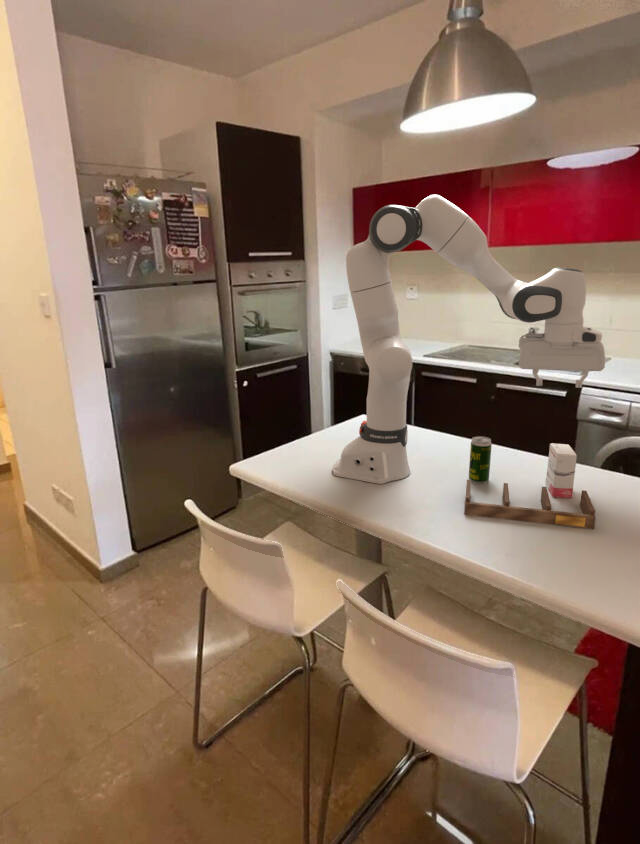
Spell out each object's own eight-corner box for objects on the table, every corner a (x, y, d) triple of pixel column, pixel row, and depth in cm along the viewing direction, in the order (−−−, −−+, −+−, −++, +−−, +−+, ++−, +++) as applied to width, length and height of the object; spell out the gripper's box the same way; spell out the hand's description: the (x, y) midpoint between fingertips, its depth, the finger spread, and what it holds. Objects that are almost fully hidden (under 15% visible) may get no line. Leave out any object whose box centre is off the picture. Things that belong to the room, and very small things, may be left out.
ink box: (572, 498, 129) (578, 455, 125) (551, 497, 130) (557, 454, 126) (564, 484, 137) (569, 443, 134) (544, 483, 138) (549, 442, 135)
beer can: (477, 474, 145) (480, 434, 141) (492, 481, 140) (496, 440, 137) (464, 479, 142) (466, 438, 138) (479, 486, 138) (482, 444, 134)
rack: (464, 515, 122) (465, 500, 121) (466, 493, 133) (467, 479, 132) (594, 530, 114) (596, 513, 113) (584, 505, 125) (586, 490, 124)
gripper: (518, 335, 132) (515, 387, 136) (608, 335, 123) (602, 391, 127) (520, 331, 137) (517, 381, 141) (607, 331, 128) (601, 385, 133)
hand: (558, 386), depth 134 cm, fingers open, 8 cm apart
